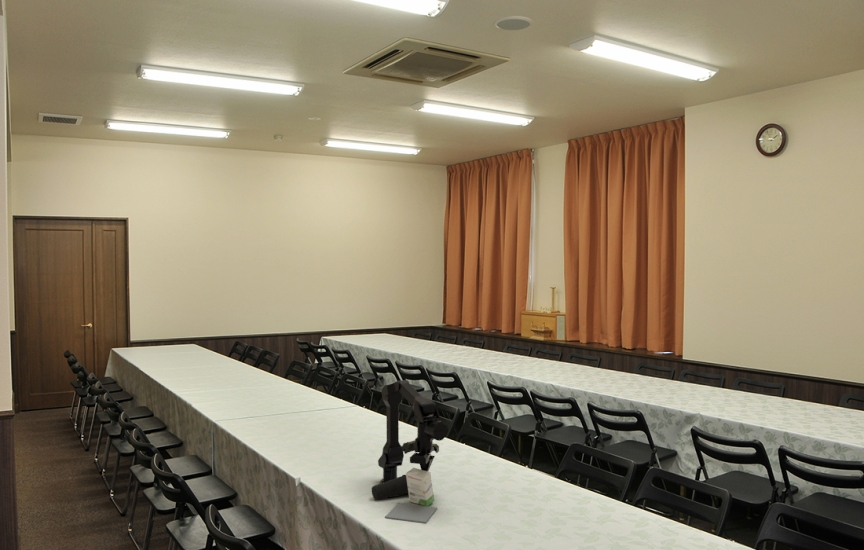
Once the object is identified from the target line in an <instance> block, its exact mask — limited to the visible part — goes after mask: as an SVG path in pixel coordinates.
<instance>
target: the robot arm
mask: <svg viewBox="0 0 864 550" xmlns="http://www.w3.org/2000/svg"><path fill="white" fill-rule="evenodd" d="M380 393H381V397H382V401H383V403H384V405H385V406H386V408H385V409H386V410H385V412H386V442H385V444H384V446H383V448H382V453H381V455H380V457H379V458H378V460H377V463H378V466H379V468H381V469H382V478H381V480H380V481H379V482H380V483H384V482H387V481H389V480H392V479H395V478H398V467H399V466H403V461H404V456H405V455H406V454H408V453H410V452H414V453H413V454H412V455H411V456H410V457H409V464H417V465H419V466H420V470H424V471H428V472H430V469H431V466H432V463H433V461H434V459H435V458H436V457H435V455H432V452H435V453H436V454H438V453H439V452H440V445H439V444H438V443H434V442H433V441H434V440H435V441H443V440H445V438H446V435H447V433H448V432H447V429H446V427H445V426H444V425H443V421H441V417H440V416H441V415H440V412H439V410H438V408H437V405H436V403H435V401H433V400H431V399H430V398H428V397H426V396H425V397H424V396H422V395H421V394H420V392H418V391H417V390H416V389H415V388H414V387H413V386H412V385H411V384H410V382H409V381H408V380H407V379H406V380H405V379H404V380H403V379H402V380H396V381H395V382H393V383H390V384H385V385H383V387H382V388H381V392H380ZM403 397H404V398H405V399H406V400H407V401H408V402H409V403H410V404H411V406H412V411H413V413H414V414H415V416H416V417H415V419H414V421H416V422H417V429H416V430H417V435H416V438H415V439H414V440H411V441H406V442H404V443H402V445H401V443H400V441H399V430H400V428H399V425H400V423H399V422H400V421H399V420H400V419H399V416H400V415H399V406H400V404H401V403H402V401H403Z"/></svg>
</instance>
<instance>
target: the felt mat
mask: <svg viewBox="0 0 864 550" xmlns="http://www.w3.org/2000/svg"><path fill="white" fill-rule="evenodd" d="M437 510H438V507H436V506H435V507H434V506H430V505H429V506H423V505H420V504H412V503H411V504H410V503H403V502H398V503H397V504H396V505H395V506H394V507H393V508H392V509H391V510H390V511H389V512H388V513H386V515H385V516H384V518H385V519H388V520H389V519H391V520H396V521H404V522H412V523H413V522H414V523H418V524H419V523H421V524H427V523H428V522H429V520H430V519H431V518H432V517H433V515H435V513H436V511H437Z"/></svg>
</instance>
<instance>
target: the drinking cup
mask: <svg viewBox="0 0 864 550" xmlns="http://www.w3.org/2000/svg"><path fill="white" fill-rule="evenodd" d="M371 494H372V498H373V499H374V500H380V499H381V500H382V499H386V498H394V497H398V496H406V495H407V496H409V493H408V486H407V478H406V474H402V475H401V476H397V478H395V479H392V480H389V481H387V482H380V483H378V484H376V485H373V486H372V487H371Z"/></svg>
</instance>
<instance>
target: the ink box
mask: <svg viewBox="0 0 864 550" xmlns="http://www.w3.org/2000/svg"><path fill="white" fill-rule="evenodd" d="M405 475H406V478H407V486H408V493H409V495H408V499H409V503H410V502H411V503H414V504H416V505H421V506H429V507H430V505H431V504H432V503H433V502H434V501H435V497H434V489H433V482H432V475H431V472H430V471H424V470H421V468H420V469H419V468H416V467H413V468H411V469H409V470H408V471H406V472H405Z"/></svg>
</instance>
